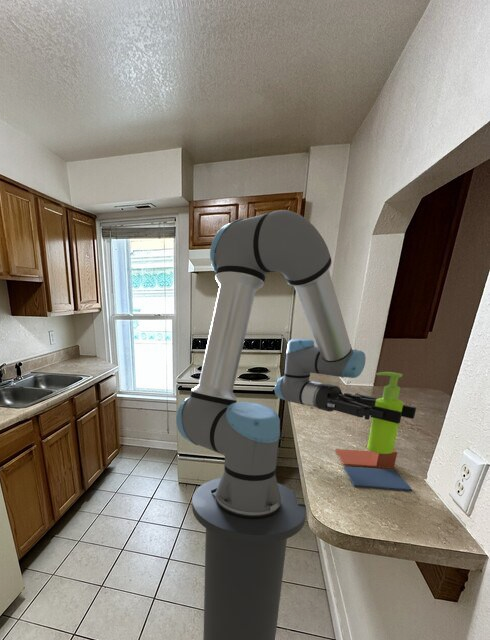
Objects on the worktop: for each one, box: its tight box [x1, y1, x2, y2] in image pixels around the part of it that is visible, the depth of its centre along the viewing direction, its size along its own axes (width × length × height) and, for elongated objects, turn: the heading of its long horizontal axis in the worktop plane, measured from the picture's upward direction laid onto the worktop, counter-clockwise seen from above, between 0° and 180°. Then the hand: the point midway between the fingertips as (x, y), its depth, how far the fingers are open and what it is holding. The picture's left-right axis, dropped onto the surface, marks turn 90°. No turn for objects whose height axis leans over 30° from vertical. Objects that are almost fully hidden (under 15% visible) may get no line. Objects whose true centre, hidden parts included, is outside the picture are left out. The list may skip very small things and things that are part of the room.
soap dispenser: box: [366, 371, 405, 454], centre depth 89 cm, size 6×7×20 cm
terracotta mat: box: [335, 448, 395, 470], centre depth 105 cm, size 13×11×1 cm
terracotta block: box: [371, 448, 398, 467], centre depth 100 cm, size 4×4×4 cm
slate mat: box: [343, 466, 413, 492], centre depth 93 cm, size 13×11×1 cm
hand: (407, 415), depth 85 cm, fingers closed on soap dispenser, 6 cm apart
